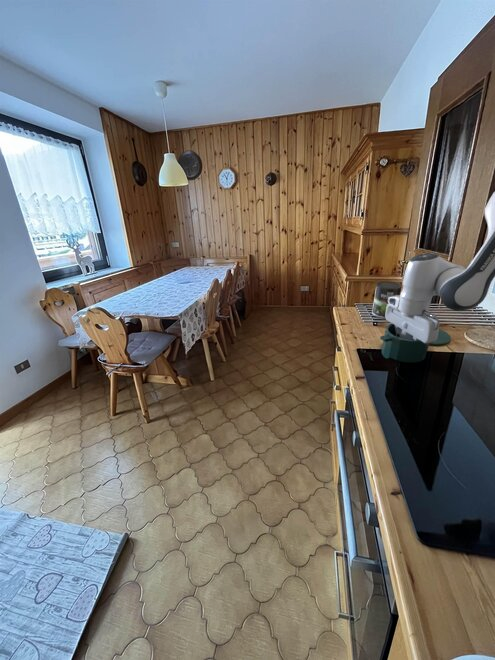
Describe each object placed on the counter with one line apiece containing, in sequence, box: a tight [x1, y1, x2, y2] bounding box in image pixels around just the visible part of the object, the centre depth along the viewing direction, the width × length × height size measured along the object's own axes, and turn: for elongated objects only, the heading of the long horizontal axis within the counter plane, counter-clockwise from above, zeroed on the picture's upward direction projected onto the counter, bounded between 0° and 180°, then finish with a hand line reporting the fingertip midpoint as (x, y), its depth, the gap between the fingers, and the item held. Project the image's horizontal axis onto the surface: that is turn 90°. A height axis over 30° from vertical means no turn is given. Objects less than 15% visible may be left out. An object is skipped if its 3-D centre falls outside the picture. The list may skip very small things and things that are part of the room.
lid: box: [429, 328, 452, 346], centre depth 109 cm, size 15×15×4 cm
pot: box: [379, 323, 430, 363], centre depth 98 cm, size 14×19×10 cm
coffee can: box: [371, 280, 403, 319], centre depth 128 cm, size 10×10×14 cm
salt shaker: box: [399, 322, 414, 340], centre depth 97 cm, size 6×6×13 cm
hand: (405, 342), depth 98 cm, fingers open, 5 cm apart
